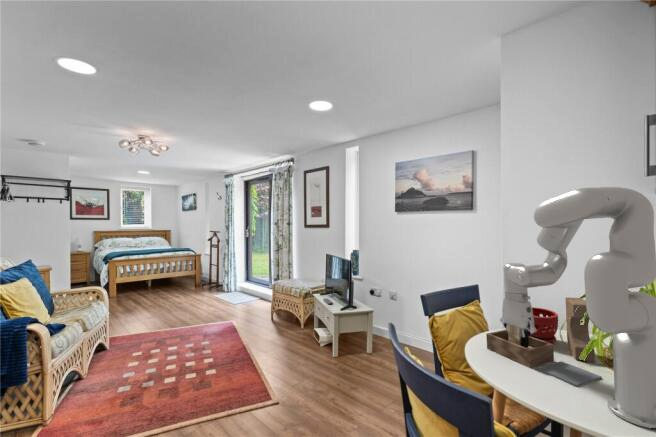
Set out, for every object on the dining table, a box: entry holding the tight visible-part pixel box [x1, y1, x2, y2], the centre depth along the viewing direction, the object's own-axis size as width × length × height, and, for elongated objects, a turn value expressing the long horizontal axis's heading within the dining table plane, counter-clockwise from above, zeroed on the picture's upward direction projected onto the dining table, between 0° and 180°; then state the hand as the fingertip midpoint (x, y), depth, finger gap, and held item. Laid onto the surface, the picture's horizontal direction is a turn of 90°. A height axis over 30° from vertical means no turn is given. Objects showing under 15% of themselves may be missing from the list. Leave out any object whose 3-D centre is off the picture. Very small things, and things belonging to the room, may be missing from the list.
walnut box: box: [486, 328, 555, 369], centre depth 118 cm, size 18×12×6 cm, turn 21°
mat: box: [537, 360, 603, 388], centre depth 103 cm, size 12×12×1 cm
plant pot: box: [528, 307, 559, 344], centre depth 131 cm, size 13×13×12 cm
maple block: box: [508, 324, 528, 348], centre depth 118 cm, size 4×4×8 cm
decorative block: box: [564, 297, 596, 363], centre depth 116 cm, size 11×6×20 cm, turn 154°
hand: (518, 344), depth 118 cm, fingers closed on maple block, 4 cm apart
